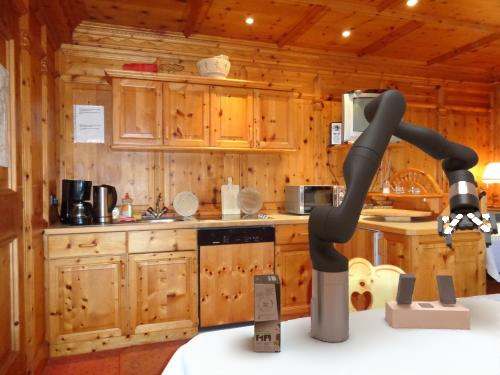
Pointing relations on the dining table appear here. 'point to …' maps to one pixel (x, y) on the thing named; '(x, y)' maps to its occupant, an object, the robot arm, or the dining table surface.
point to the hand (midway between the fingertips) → (468, 246)
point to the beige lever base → (427, 315)
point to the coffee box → (267, 313)
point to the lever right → (445, 287)
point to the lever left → (405, 289)
